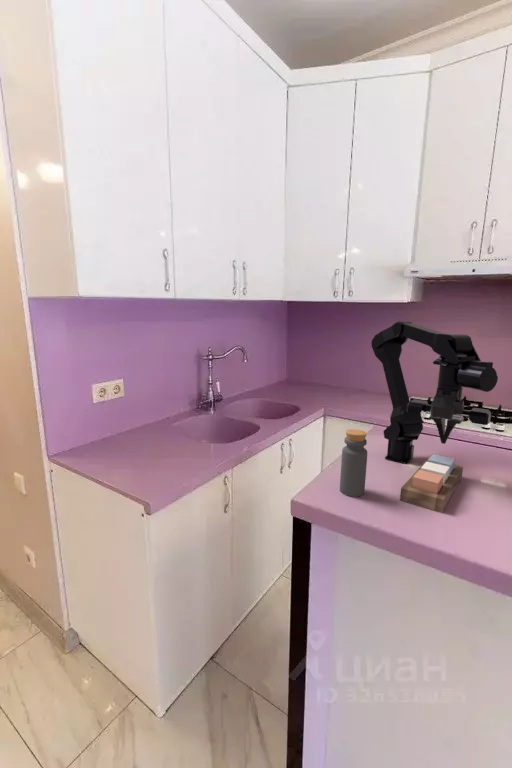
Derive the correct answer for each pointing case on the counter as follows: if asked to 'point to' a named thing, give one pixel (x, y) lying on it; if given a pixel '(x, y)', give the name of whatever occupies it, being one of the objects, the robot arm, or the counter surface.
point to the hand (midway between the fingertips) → (443, 443)
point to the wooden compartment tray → (428, 498)
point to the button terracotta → (427, 482)
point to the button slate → (443, 461)
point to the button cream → (437, 470)
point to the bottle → (353, 464)
